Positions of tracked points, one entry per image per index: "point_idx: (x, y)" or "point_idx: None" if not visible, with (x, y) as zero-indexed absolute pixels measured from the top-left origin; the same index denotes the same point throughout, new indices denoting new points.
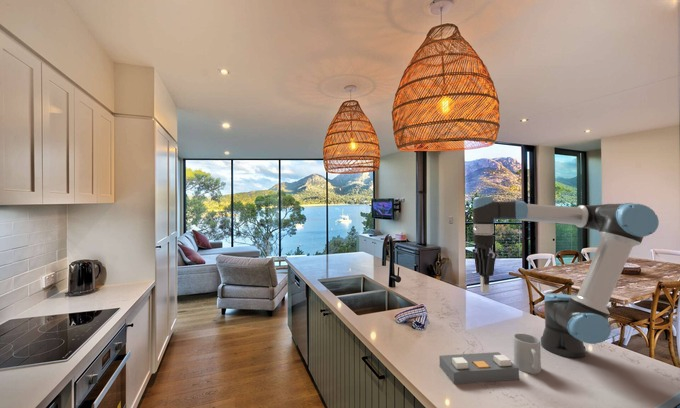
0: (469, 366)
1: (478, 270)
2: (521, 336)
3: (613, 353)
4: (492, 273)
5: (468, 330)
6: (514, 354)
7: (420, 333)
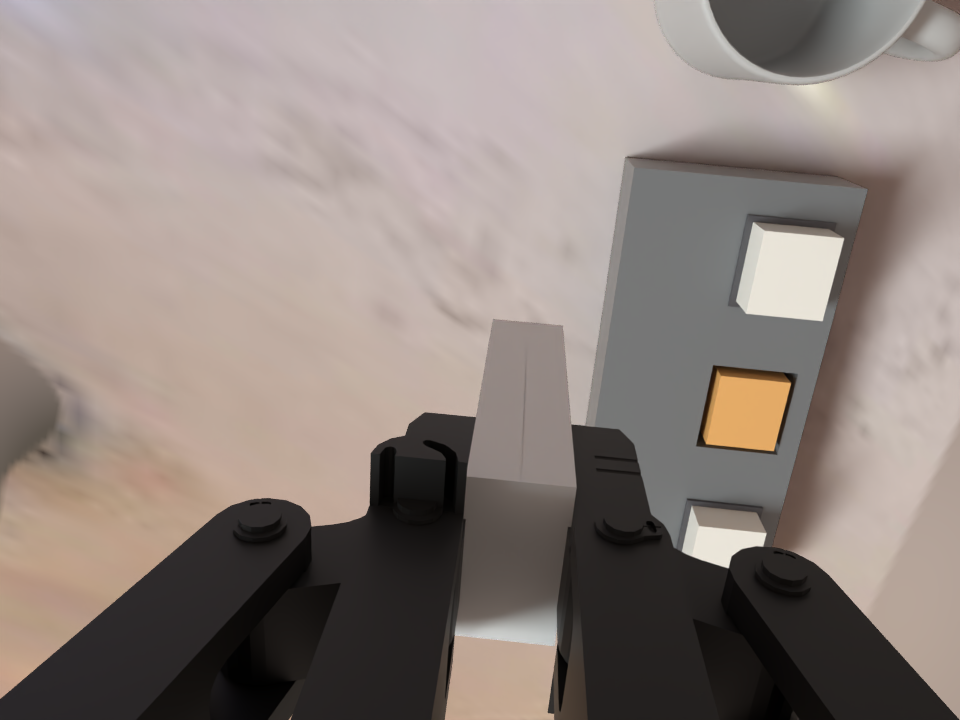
0: (735, 486)
1: (298, 692)
2: None
3: None
4: (850, 632)
5: (82, 21)
6: (716, 71)
7: (135, 445)
